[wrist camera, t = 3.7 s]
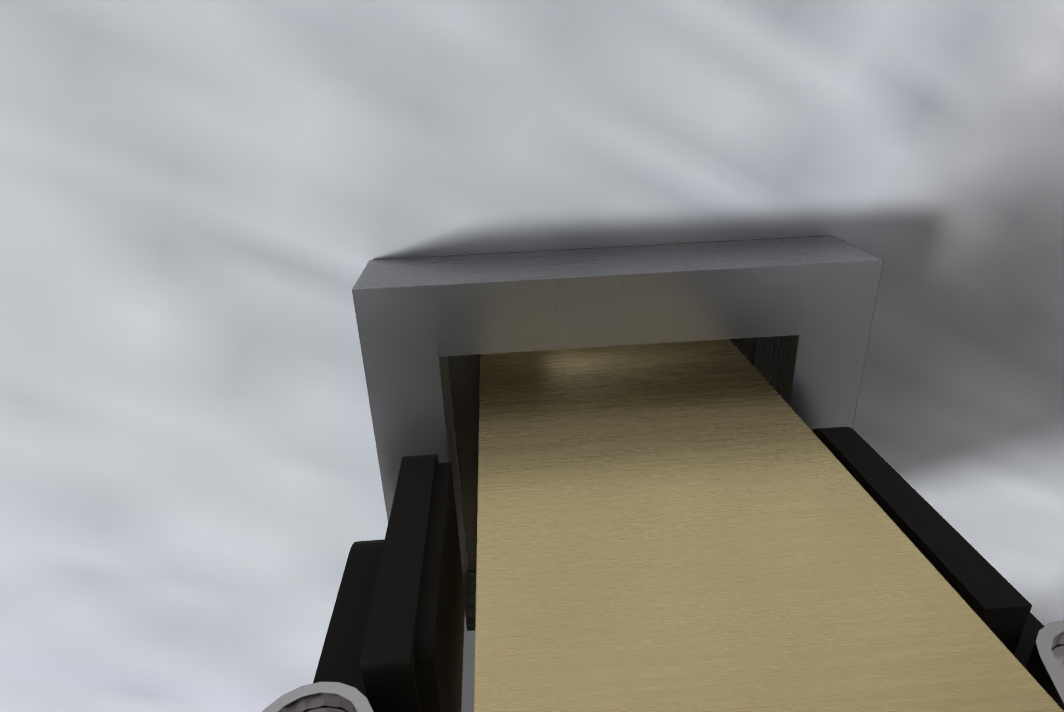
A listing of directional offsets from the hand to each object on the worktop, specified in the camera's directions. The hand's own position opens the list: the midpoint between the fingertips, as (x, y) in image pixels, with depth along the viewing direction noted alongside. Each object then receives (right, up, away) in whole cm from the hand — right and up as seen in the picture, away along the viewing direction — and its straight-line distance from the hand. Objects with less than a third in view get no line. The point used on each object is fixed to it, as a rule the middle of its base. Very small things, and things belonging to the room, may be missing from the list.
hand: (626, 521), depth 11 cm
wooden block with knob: (0, +1, +2) cm, 2 cm away
